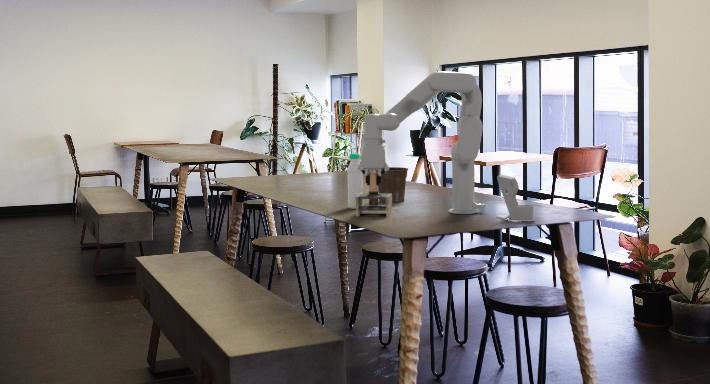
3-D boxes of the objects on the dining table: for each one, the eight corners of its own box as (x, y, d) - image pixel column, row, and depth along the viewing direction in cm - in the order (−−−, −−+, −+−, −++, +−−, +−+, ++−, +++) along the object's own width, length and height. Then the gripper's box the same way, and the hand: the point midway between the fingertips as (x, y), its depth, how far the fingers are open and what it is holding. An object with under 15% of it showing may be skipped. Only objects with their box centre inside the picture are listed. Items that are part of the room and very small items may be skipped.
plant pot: (415, 201, 405) (415, 168, 403) (388, 204, 396) (388, 170, 394) (395, 198, 418) (394, 166, 417) (368, 201, 409) (368, 168, 408)
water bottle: (354, 206, 391) (353, 153, 388) (366, 207, 386) (365, 153, 384) (344, 208, 386) (343, 154, 383) (356, 209, 381) (355, 154, 378)
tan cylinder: (379, 204, 364) (378, 172, 362) (377, 205, 359) (377, 173, 358) (369, 204, 364) (369, 172, 363) (368, 205, 360) (367, 173, 359)
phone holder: (535, 221, 334) (535, 176, 332) (512, 223, 332) (512, 177, 330) (517, 216, 351) (517, 173, 349) (495, 217, 348) (494, 174, 346)
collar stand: (392, 212, 367) (391, 193, 366) (388, 216, 355) (388, 196, 354) (360, 212, 369) (360, 193, 369) (356, 216, 358) (355, 196, 357)
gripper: (393, 142, 361) (393, 184, 363) (355, 142, 364) (355, 184, 366) (391, 143, 354) (391, 186, 356) (352, 143, 357) (352, 185, 359)
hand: (373, 184), depth 361 cm, fingers closed on tan cylinder, 4 cm apart
